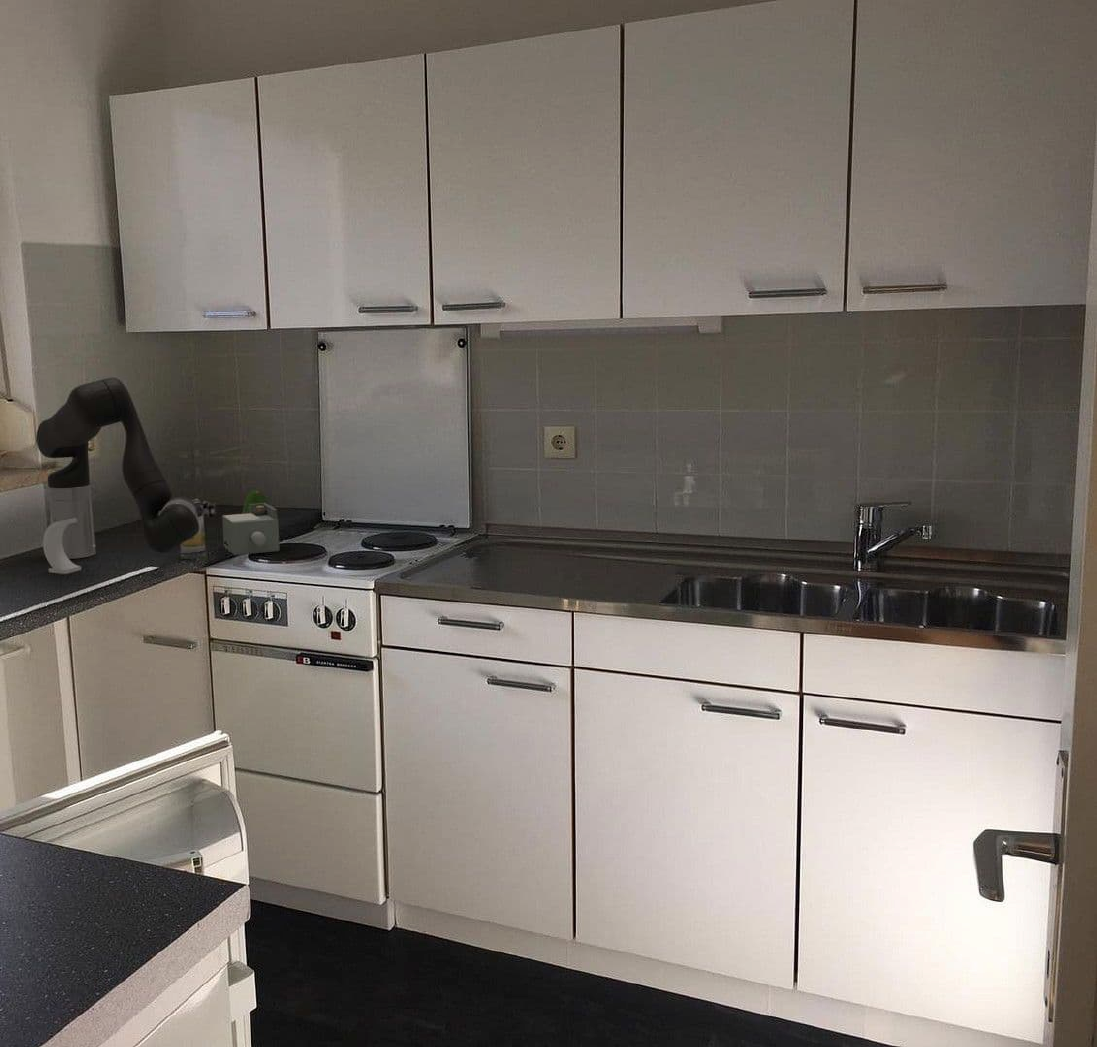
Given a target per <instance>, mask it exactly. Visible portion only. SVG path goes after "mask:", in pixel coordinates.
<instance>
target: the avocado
mask: <svg viewBox="0 0 1097 1047" xmlns="http://www.w3.org/2000/svg"><path fill="white" fill-rule="evenodd" d="M259 503H266V504H268V505H270V506H271V504H270V503H269V500H268V499H267V497H266V495H265V494H263V493H262V492H261V491H260V490H257V489H256V490H251V491H250V492H249V493H248V494H247V495H246V498H245V502H244V506H243V509H242V513H241V514H248V513H249V504H259Z"/></svg>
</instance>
